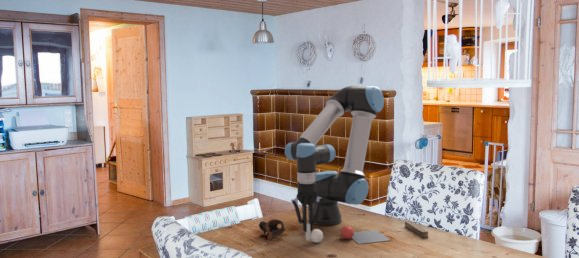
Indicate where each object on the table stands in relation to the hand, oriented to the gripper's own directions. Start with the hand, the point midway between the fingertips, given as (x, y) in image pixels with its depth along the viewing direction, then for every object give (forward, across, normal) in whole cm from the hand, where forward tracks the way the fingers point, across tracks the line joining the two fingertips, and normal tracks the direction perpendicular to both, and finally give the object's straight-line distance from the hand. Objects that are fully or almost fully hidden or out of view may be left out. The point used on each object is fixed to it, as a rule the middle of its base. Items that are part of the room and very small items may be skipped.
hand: (308, 239), depth 193 cm
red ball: (-1, +17, 0) cm, 17 cm away
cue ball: (-1, +3, 0) cm, 4 cm away
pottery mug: (+2, -13, +13) cm, 18 cm away
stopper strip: (+2, +48, +1) cm, 48 cm away
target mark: (+2, +26, 0) cm, 26 cm away
